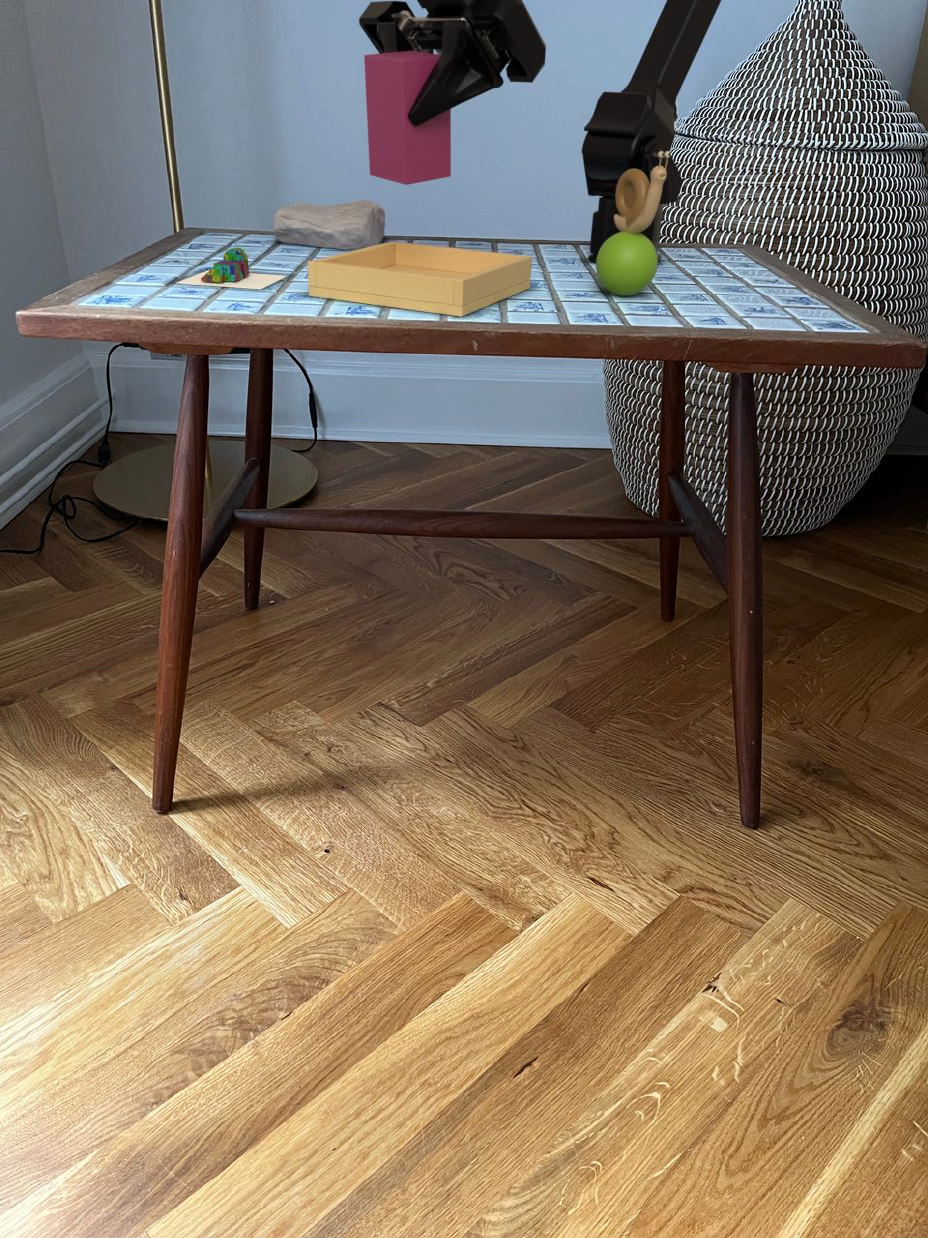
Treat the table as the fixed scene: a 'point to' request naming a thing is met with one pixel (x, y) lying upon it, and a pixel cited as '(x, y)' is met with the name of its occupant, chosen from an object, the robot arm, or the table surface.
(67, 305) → the table surface
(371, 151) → the mulberry block
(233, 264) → the patchwork stepped arch
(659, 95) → the robot arm
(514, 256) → the birch tray
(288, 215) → the stone block
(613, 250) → the snail figurine
